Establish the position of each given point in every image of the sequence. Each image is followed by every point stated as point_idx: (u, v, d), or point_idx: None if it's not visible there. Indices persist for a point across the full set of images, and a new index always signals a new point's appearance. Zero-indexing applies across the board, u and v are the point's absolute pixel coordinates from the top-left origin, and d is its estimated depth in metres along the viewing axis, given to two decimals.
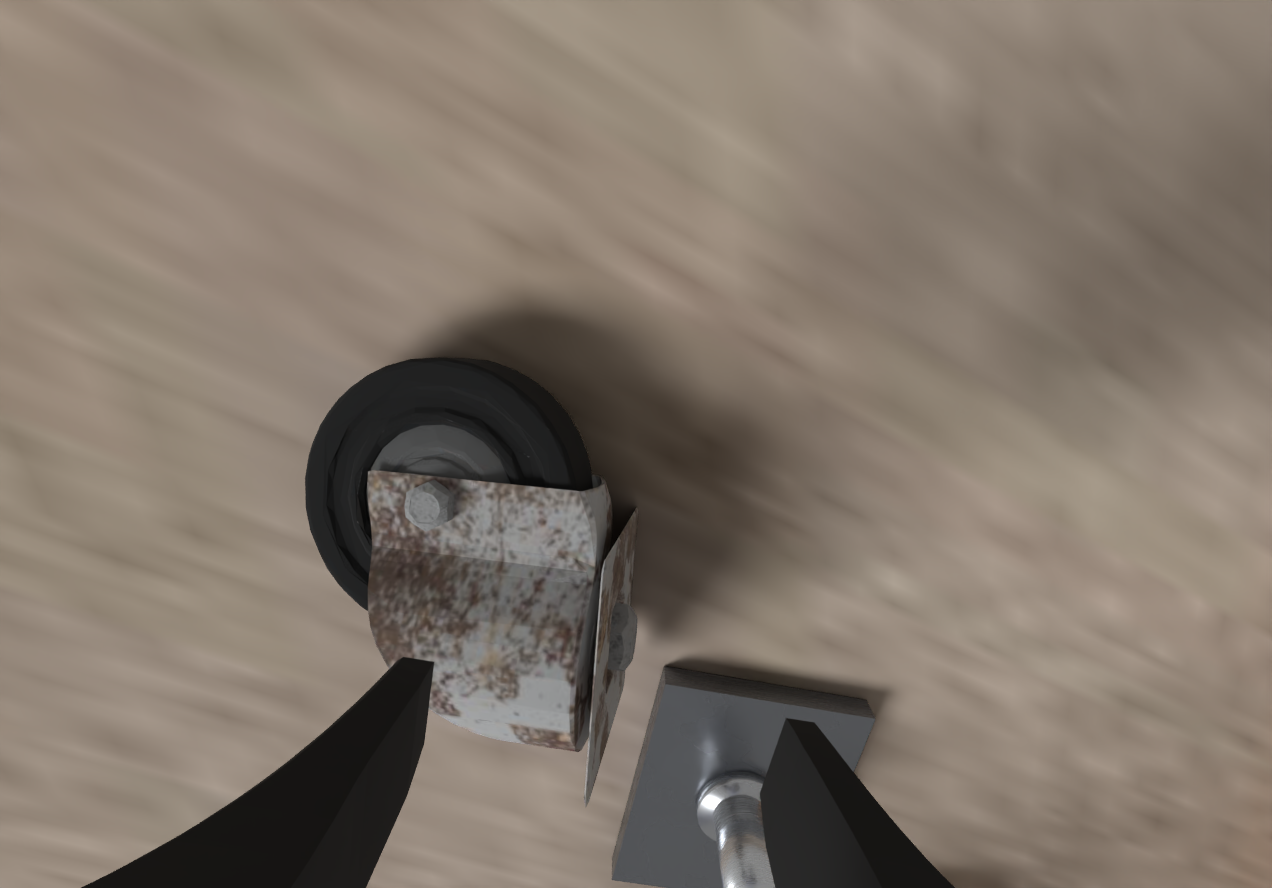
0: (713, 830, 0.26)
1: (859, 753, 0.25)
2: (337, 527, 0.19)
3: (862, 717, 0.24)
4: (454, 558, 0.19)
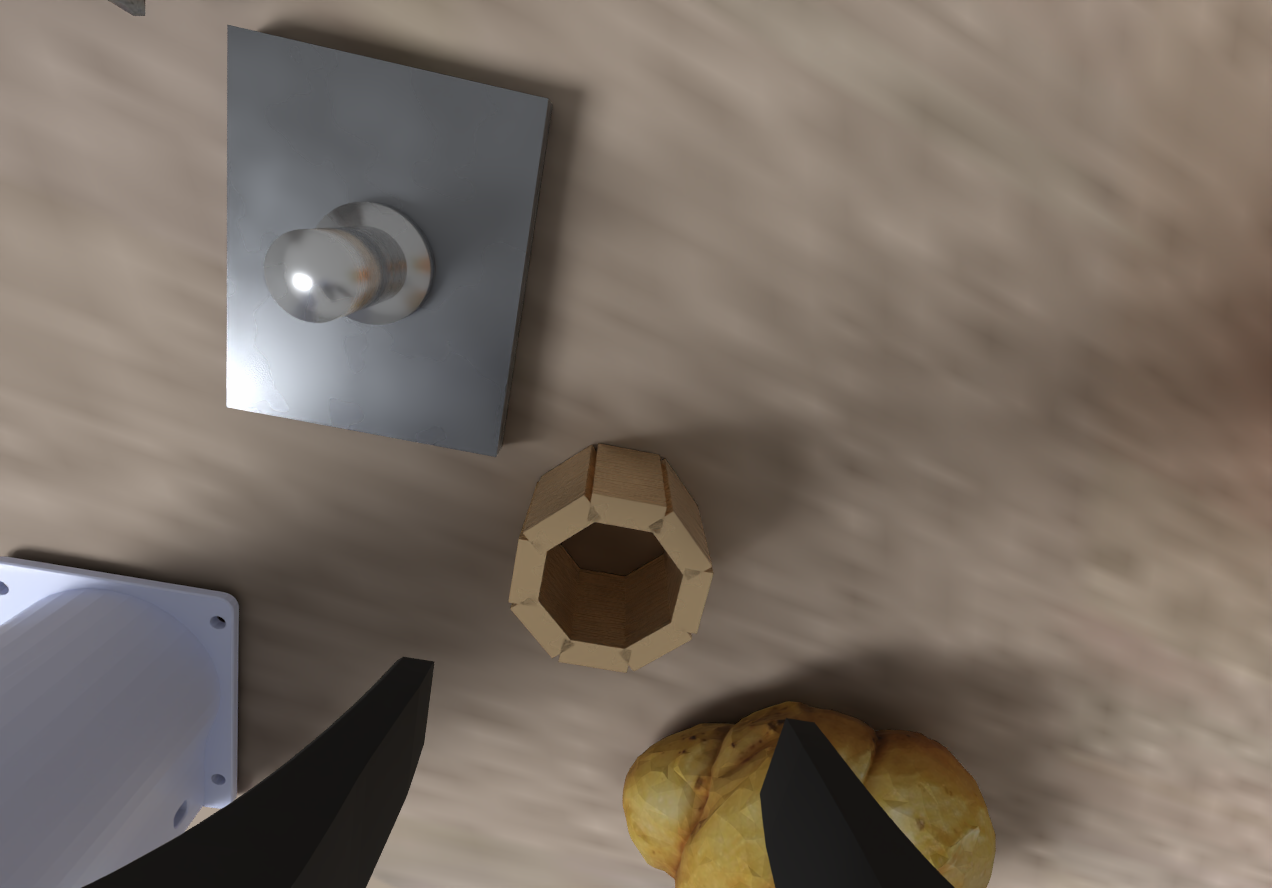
0: None
1: (535, 167, 0.17)
2: None
3: (528, 94, 0.17)
4: None
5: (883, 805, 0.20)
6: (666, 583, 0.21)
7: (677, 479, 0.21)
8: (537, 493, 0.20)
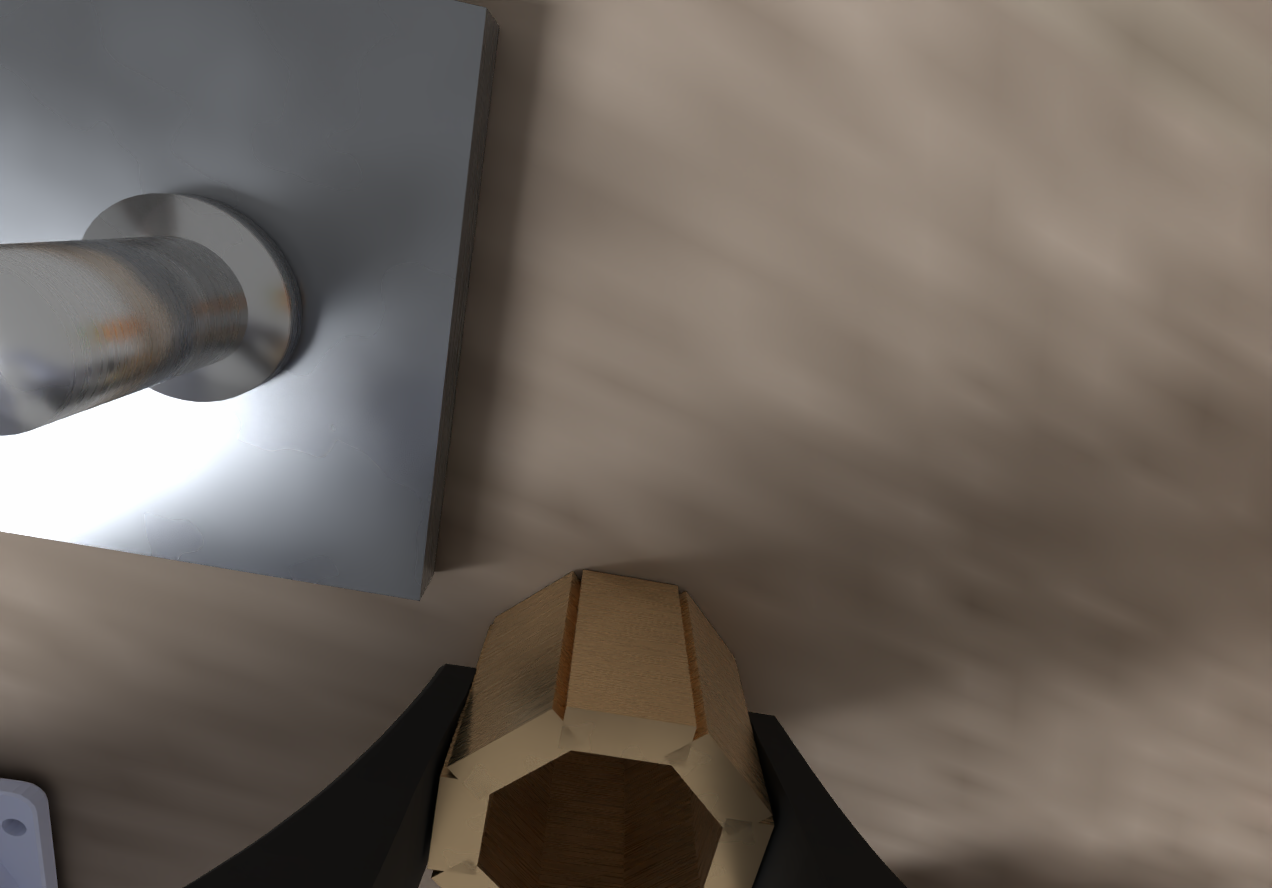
0: None
1: (467, 133, 0.10)
2: None
3: (450, 0, 0.09)
4: None
5: None
6: (689, 794, 0.13)
7: (705, 625, 0.14)
8: (484, 660, 0.13)
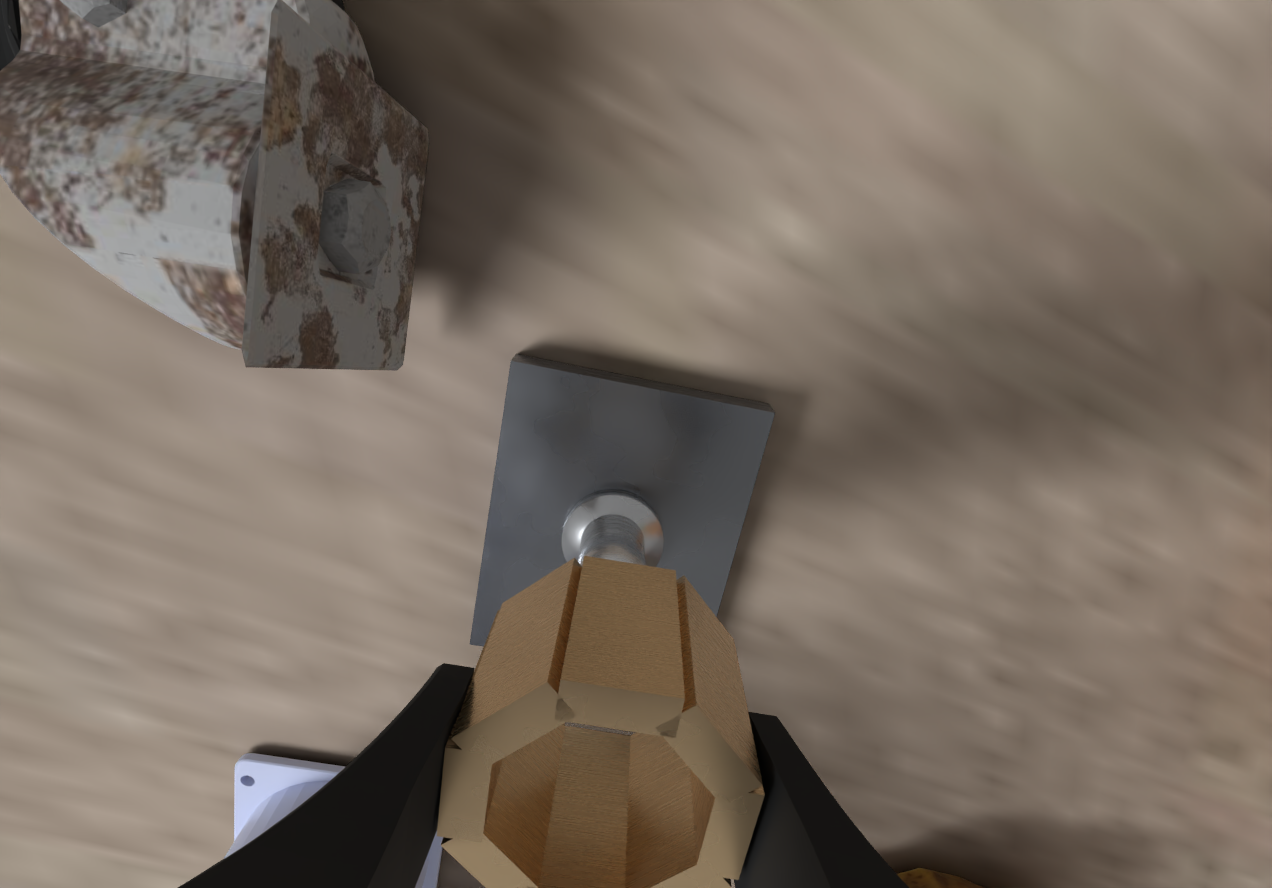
0: None
1: (758, 463, 0.20)
2: None
3: (758, 410, 0.20)
4: (123, 65, 0.14)
5: None
6: (689, 770, 0.14)
7: (703, 608, 0.14)
8: (490, 641, 0.13)
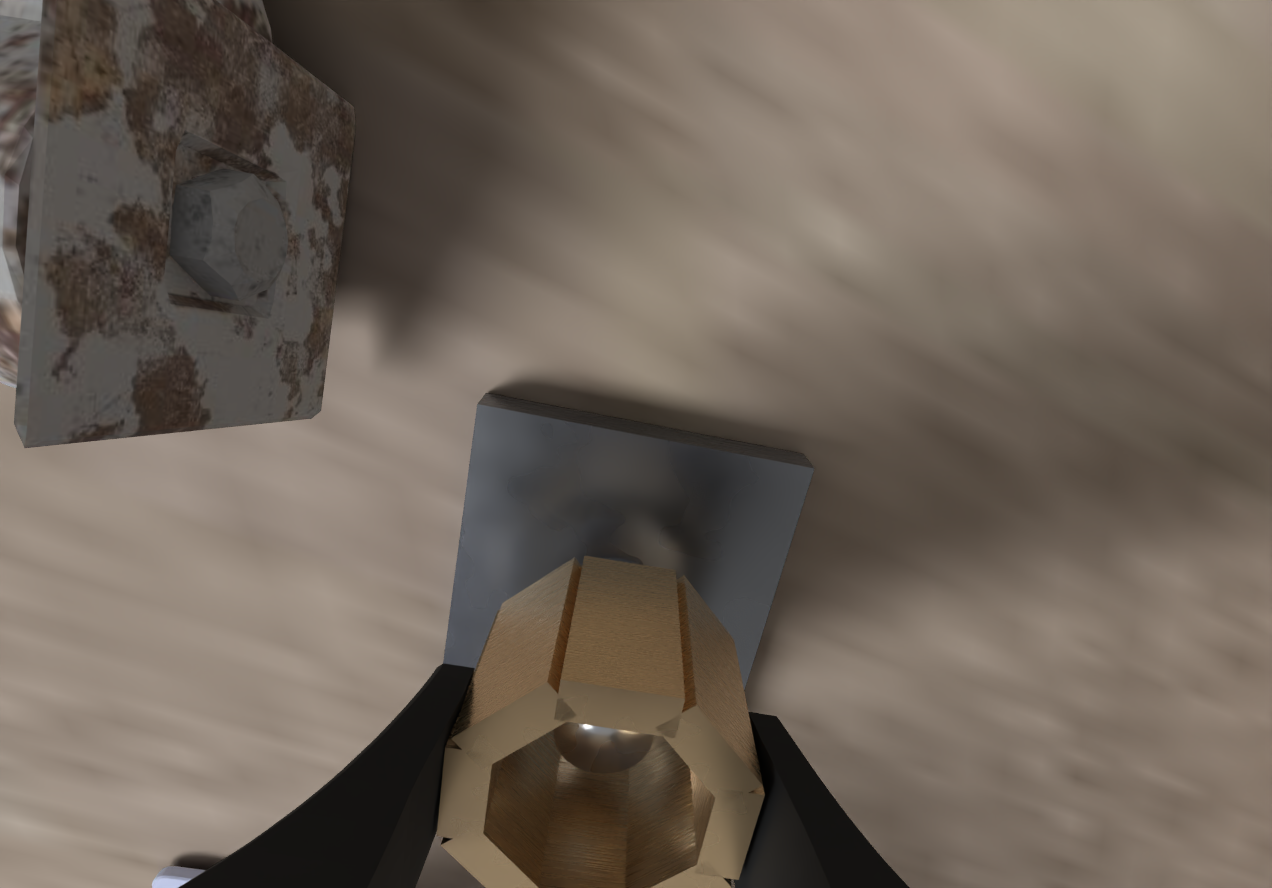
0: None
1: (792, 530, 0.16)
2: None
3: (793, 465, 0.16)
4: None
5: None
6: (689, 770, 0.14)
7: (703, 608, 0.14)
8: (490, 641, 0.13)
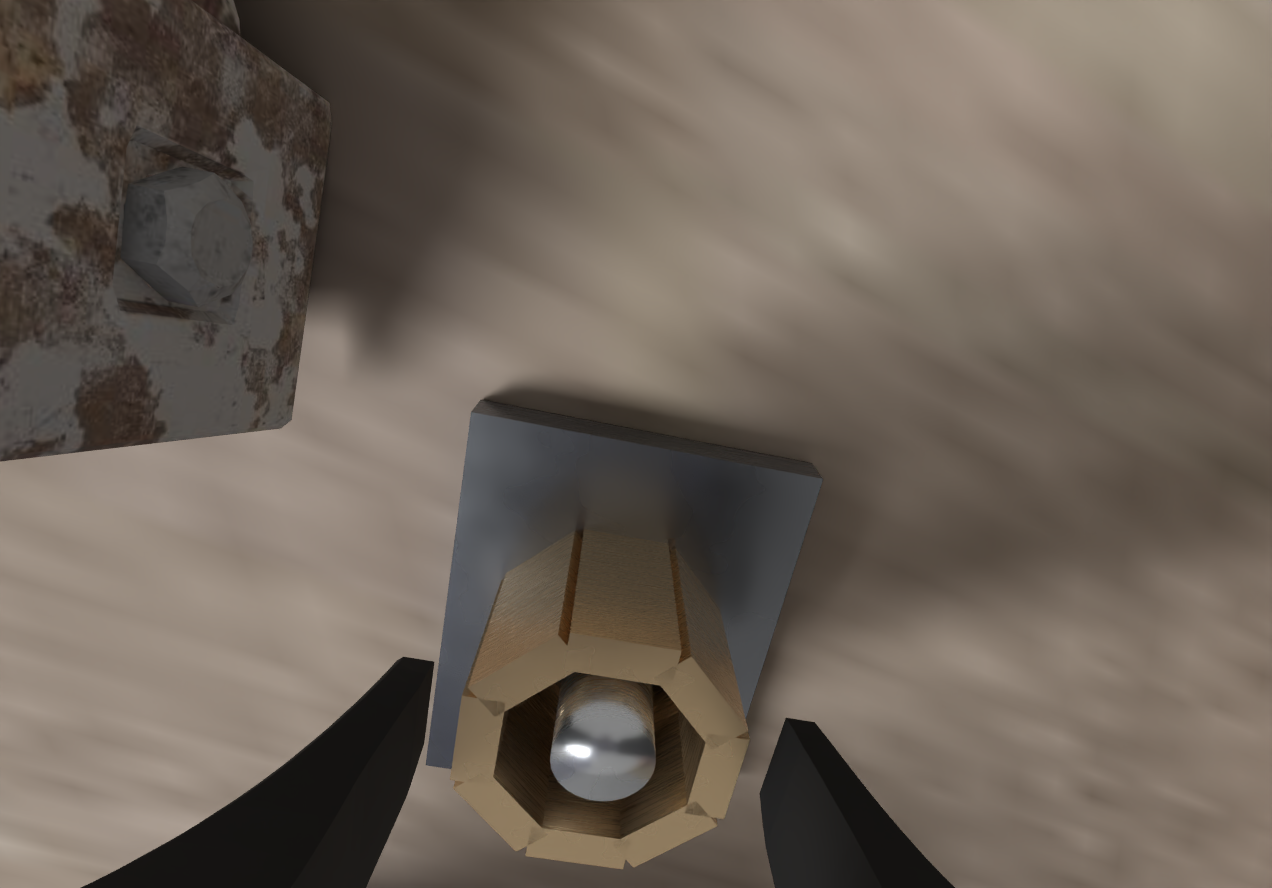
0: None
1: (799, 543, 0.15)
2: None
3: (801, 475, 0.15)
4: None
5: None
6: (678, 726, 0.15)
7: (693, 578, 0.15)
8: (497, 606, 0.14)
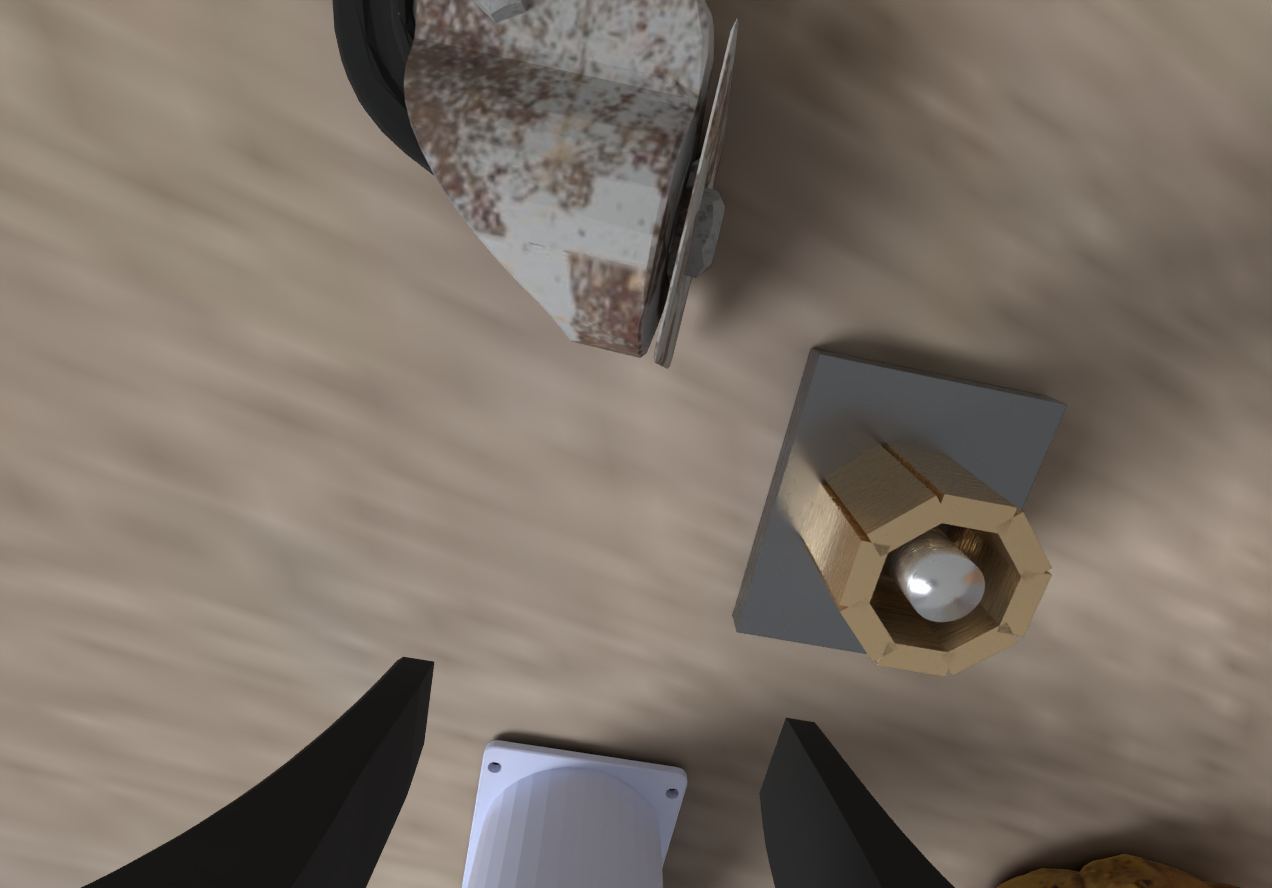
0: None
1: (1043, 454, 0.21)
2: (369, 21, 0.15)
3: (1051, 402, 0.20)
4: (520, 62, 0.14)
5: None
6: None
7: None
8: (840, 494, 0.20)
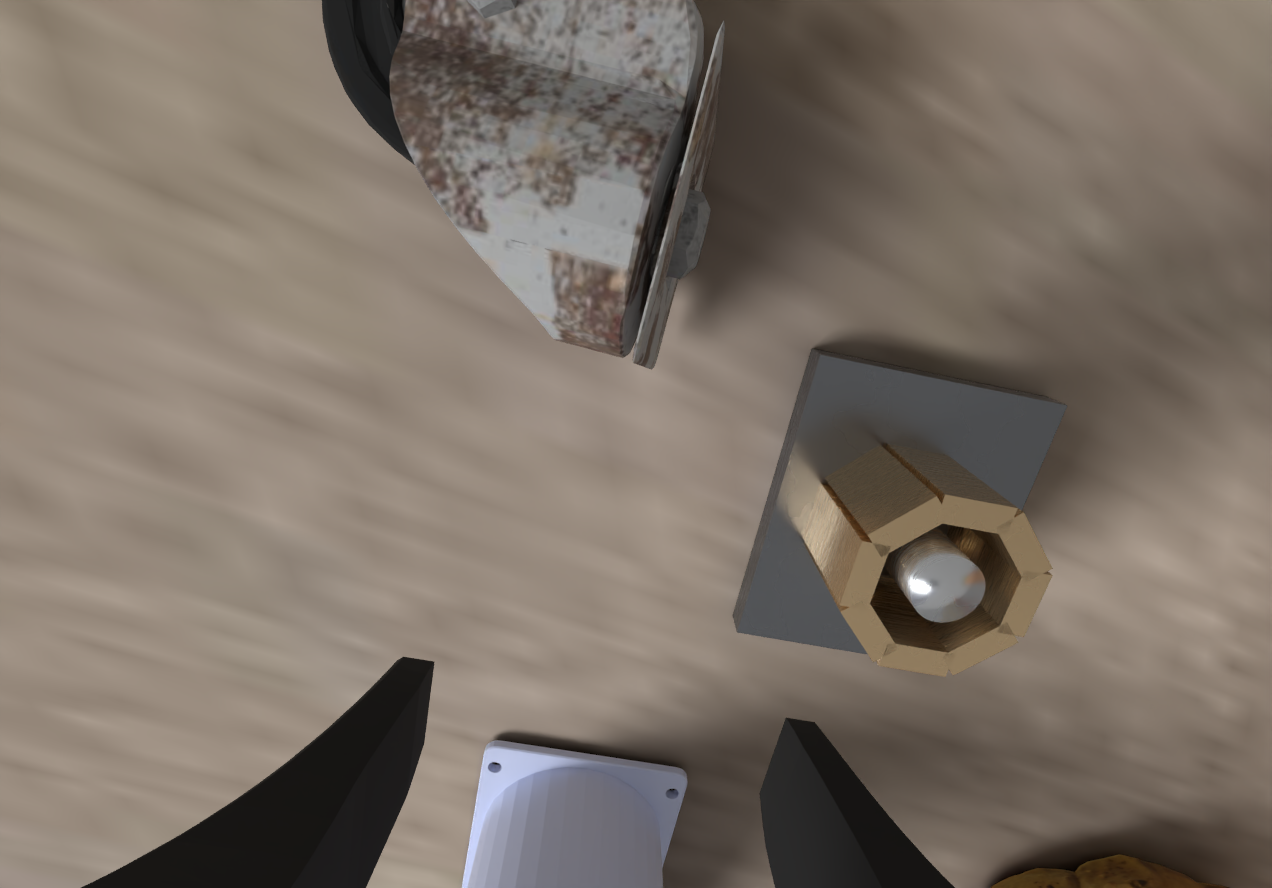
0: None
1: (1043, 455, 0.21)
2: (358, 13, 0.15)
3: (1052, 403, 0.20)
4: (508, 58, 0.14)
5: None
6: None
7: None
8: (841, 494, 0.20)
